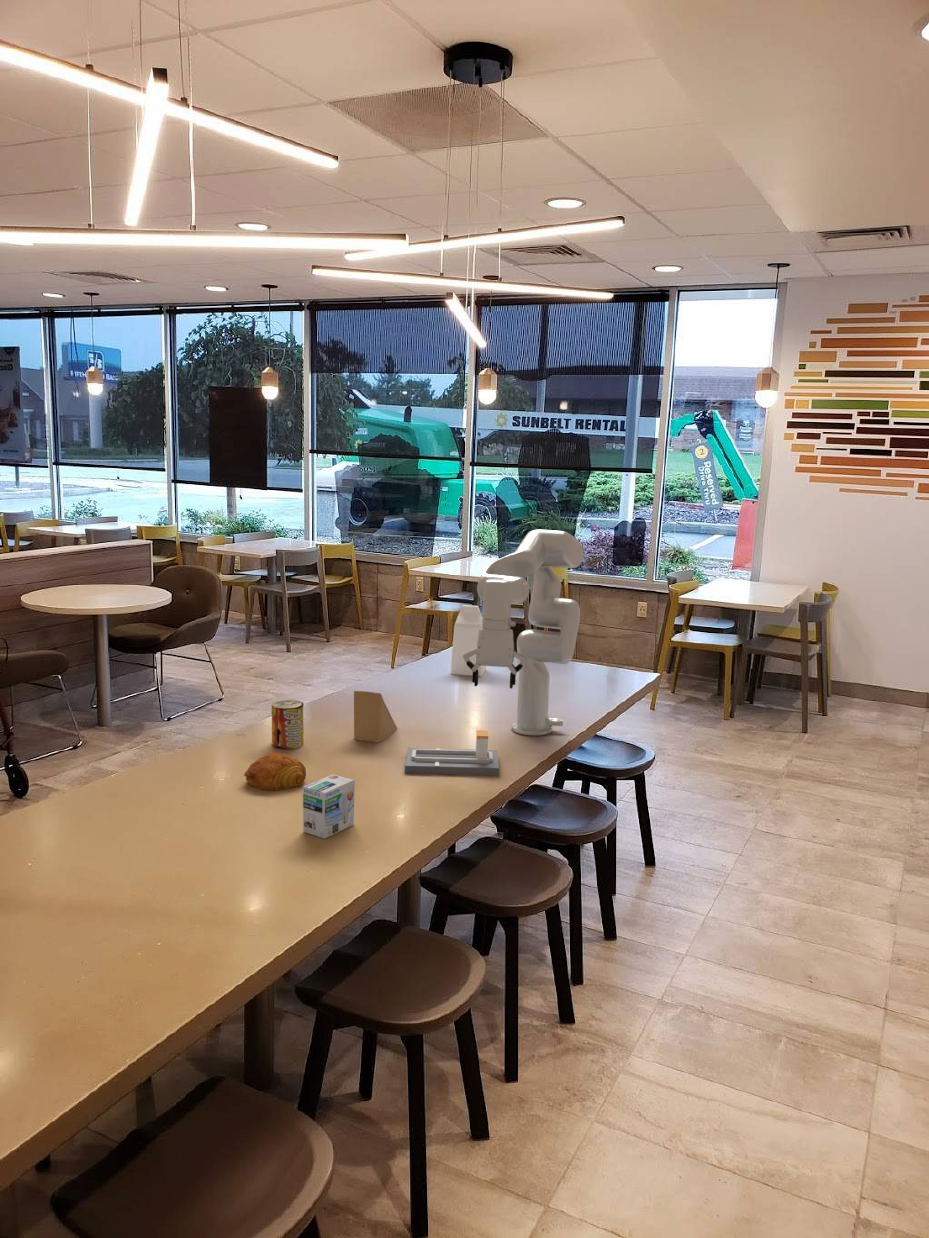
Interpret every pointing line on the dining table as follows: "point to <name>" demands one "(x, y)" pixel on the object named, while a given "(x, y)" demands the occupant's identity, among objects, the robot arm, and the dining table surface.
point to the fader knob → (481, 744)
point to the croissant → (276, 772)
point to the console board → (450, 761)
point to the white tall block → (466, 639)
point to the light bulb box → (328, 806)
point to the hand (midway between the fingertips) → (493, 686)
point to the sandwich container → (371, 717)
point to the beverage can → (287, 724)
